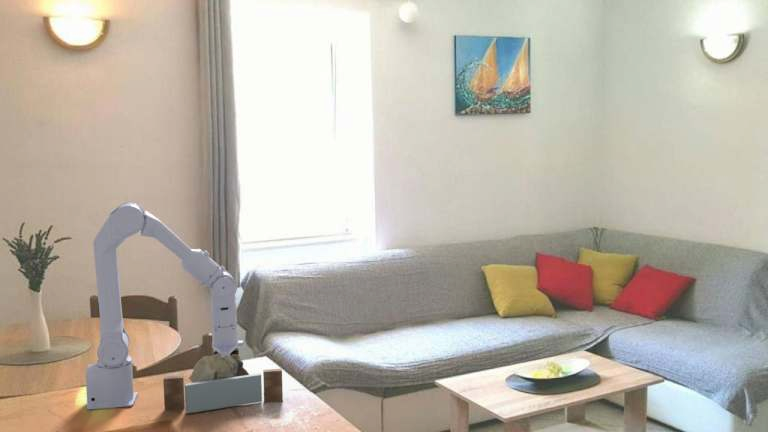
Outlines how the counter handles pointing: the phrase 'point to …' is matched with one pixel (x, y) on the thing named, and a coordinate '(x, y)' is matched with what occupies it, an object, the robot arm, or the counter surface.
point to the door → (223, 393)
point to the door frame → (176, 389)
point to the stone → (217, 368)
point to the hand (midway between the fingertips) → (227, 381)
